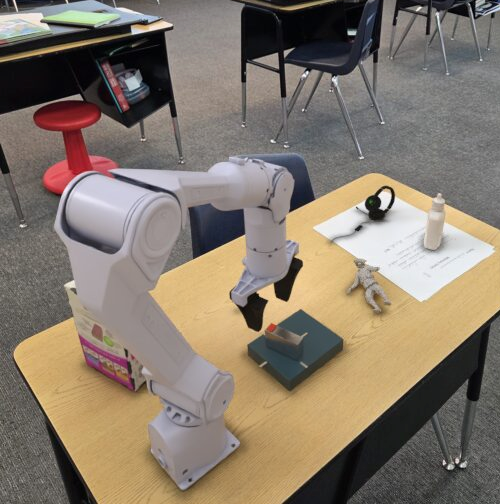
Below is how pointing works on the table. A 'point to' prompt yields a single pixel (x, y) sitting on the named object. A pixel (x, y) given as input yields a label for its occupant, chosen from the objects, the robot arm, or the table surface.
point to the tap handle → (284, 341)
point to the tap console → (314, 350)
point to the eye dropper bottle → (435, 223)
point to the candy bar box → (103, 346)
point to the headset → (376, 206)
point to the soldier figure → (368, 283)
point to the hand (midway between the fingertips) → (268, 313)
